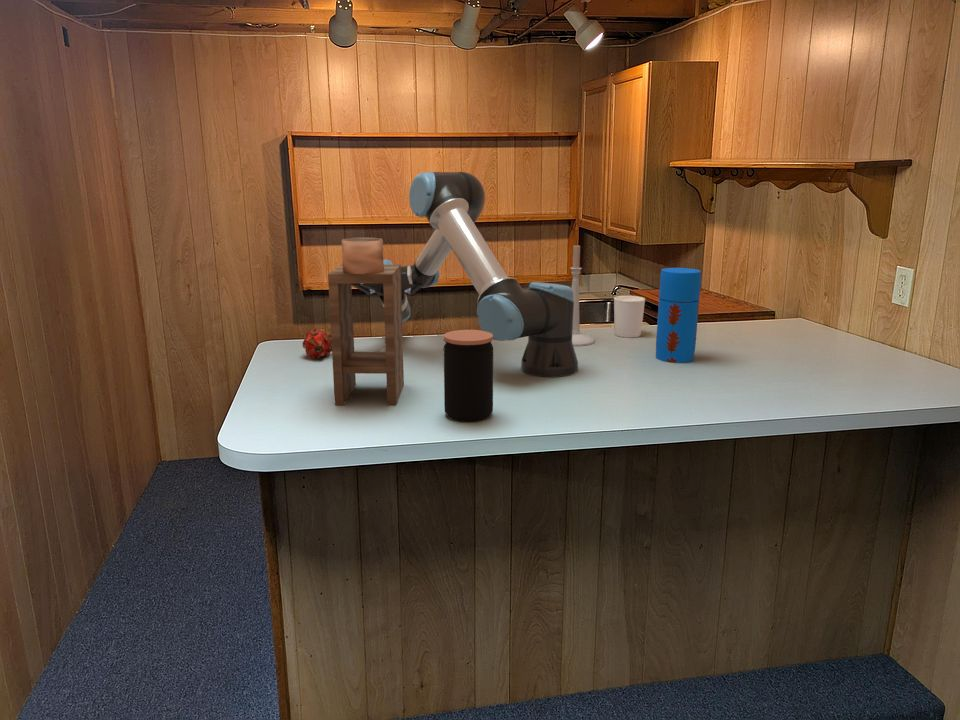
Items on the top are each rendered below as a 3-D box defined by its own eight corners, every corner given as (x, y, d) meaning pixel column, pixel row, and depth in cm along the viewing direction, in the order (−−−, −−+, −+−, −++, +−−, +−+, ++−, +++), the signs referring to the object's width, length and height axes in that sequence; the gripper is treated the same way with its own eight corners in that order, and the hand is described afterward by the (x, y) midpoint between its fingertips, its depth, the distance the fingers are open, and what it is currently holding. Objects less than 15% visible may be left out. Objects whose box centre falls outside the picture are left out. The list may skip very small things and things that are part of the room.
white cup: (624, 339, 227) (627, 302, 224) (605, 333, 235) (607, 297, 232) (649, 336, 231) (651, 299, 228) (629, 330, 240) (631, 294, 237)
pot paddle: (359, 259, 182) (358, 230, 180) (395, 259, 182) (394, 230, 180) (339, 274, 157) (337, 241, 155) (380, 274, 157) (379, 241, 155)
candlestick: (545, 342, 223) (547, 244, 215) (564, 334, 233) (568, 241, 226) (582, 348, 216) (586, 247, 208) (601, 340, 226) (605, 243, 219)
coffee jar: (494, 407, 163) (495, 330, 159) (490, 424, 153) (491, 341, 148) (448, 406, 164) (447, 328, 160) (440, 422, 154) (439, 340, 150)
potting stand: (347, 384, 180) (342, 264, 173) (403, 384, 180) (400, 264, 172) (334, 405, 165) (327, 274, 157) (396, 405, 165) (392, 274, 157)
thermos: (652, 360, 203) (657, 271, 196) (658, 351, 212) (663, 266, 206) (692, 364, 199) (699, 274, 192) (696, 355, 208) (703, 269, 202)
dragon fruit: (321, 355, 213) (322, 372, 203) (296, 341, 210) (296, 357, 199) (337, 333, 212) (339, 349, 201) (312, 318, 208) (313, 333, 198)
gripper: (435, 309, 213) (429, 283, 192) (350, 309, 213) (336, 283, 193) (435, 285, 215) (430, 257, 194) (352, 285, 215) (337, 257, 195)
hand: (383, 270), depth 193 cm, fingers open, 13 cm apart
